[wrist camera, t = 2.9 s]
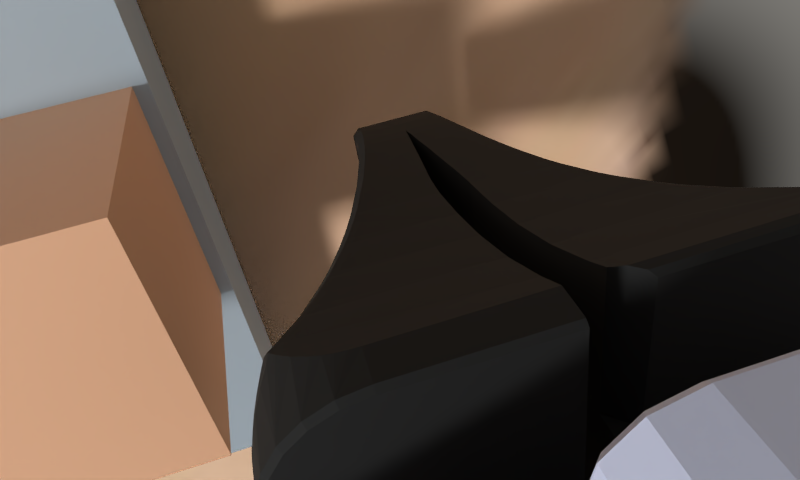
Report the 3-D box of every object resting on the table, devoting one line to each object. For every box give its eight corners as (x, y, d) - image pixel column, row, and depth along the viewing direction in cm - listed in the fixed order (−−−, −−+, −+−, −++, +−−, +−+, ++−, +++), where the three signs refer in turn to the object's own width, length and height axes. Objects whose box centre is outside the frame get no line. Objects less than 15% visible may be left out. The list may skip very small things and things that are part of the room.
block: (131, 86, 10) (107, 217, 7) (220, 293, 13) (231, 455, 10) (-165, 159, 10) (-330, 334, 7) (-9, 359, 13) (-76, 552, 9)
